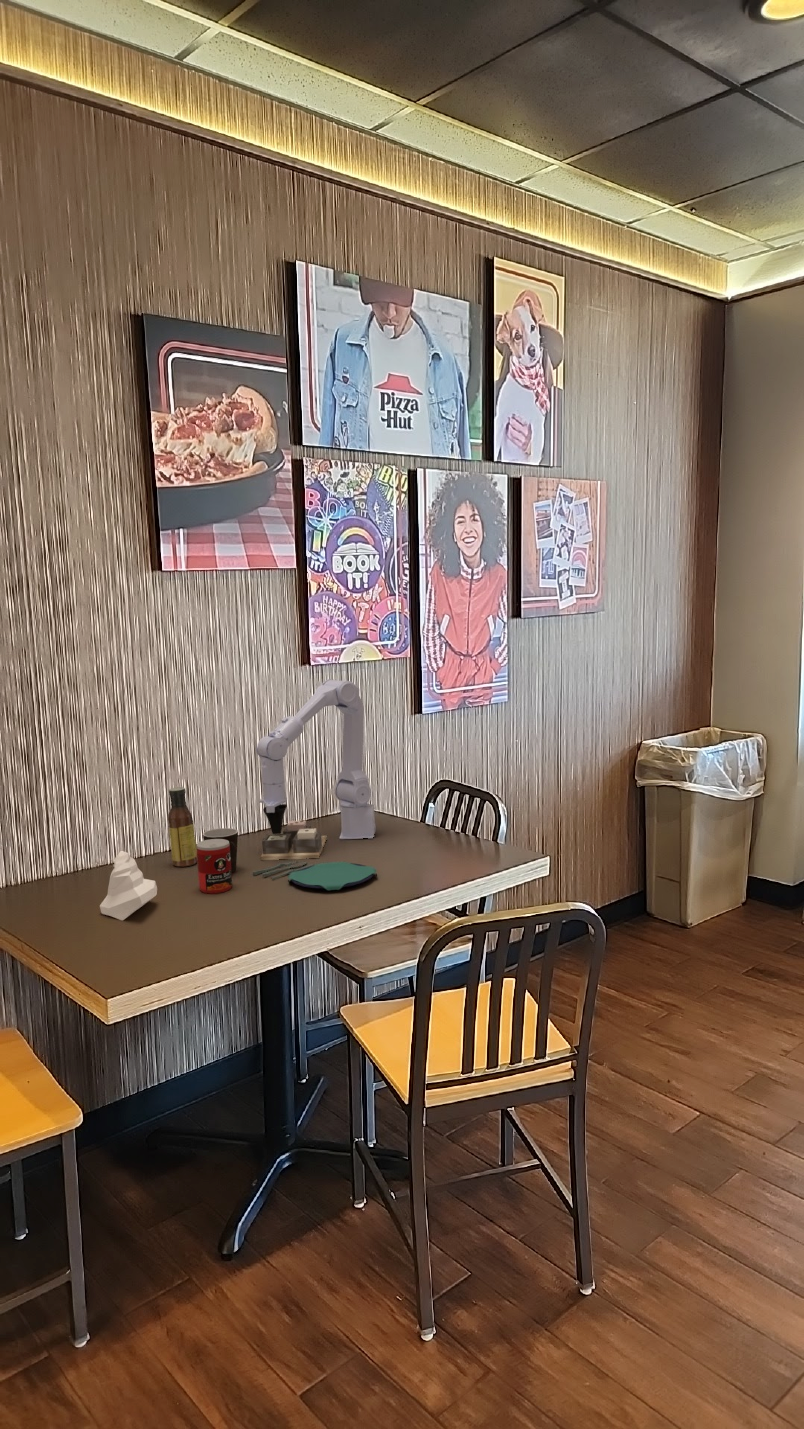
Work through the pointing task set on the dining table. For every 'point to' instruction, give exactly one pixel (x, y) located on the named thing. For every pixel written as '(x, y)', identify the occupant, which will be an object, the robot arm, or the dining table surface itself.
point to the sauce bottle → (181, 830)
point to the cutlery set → (324, 874)
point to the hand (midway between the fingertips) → (276, 833)
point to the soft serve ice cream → (126, 888)
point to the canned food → (214, 865)
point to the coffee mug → (227, 835)
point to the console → (292, 846)
